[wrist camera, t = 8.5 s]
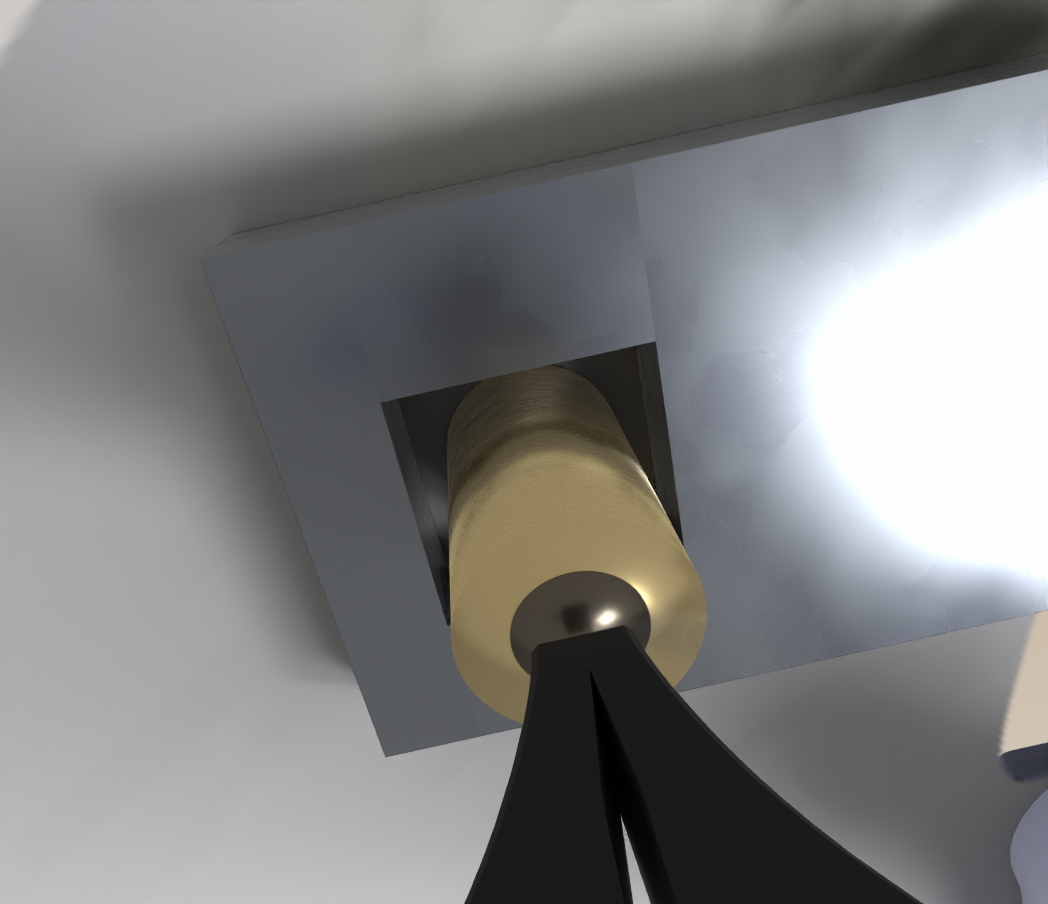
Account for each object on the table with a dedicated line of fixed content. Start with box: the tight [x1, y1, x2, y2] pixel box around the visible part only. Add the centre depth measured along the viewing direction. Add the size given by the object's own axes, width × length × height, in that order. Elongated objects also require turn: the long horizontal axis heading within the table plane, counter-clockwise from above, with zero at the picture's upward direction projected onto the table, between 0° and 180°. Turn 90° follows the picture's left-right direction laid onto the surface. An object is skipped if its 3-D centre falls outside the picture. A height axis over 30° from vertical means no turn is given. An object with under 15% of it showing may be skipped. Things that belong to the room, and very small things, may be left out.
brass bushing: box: [447, 365, 707, 724], centre depth 16 cm, size 4×4×7 cm
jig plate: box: [200, 52, 1048, 757], centre depth 18 cm, size 12×18×2 cm, turn 101°
